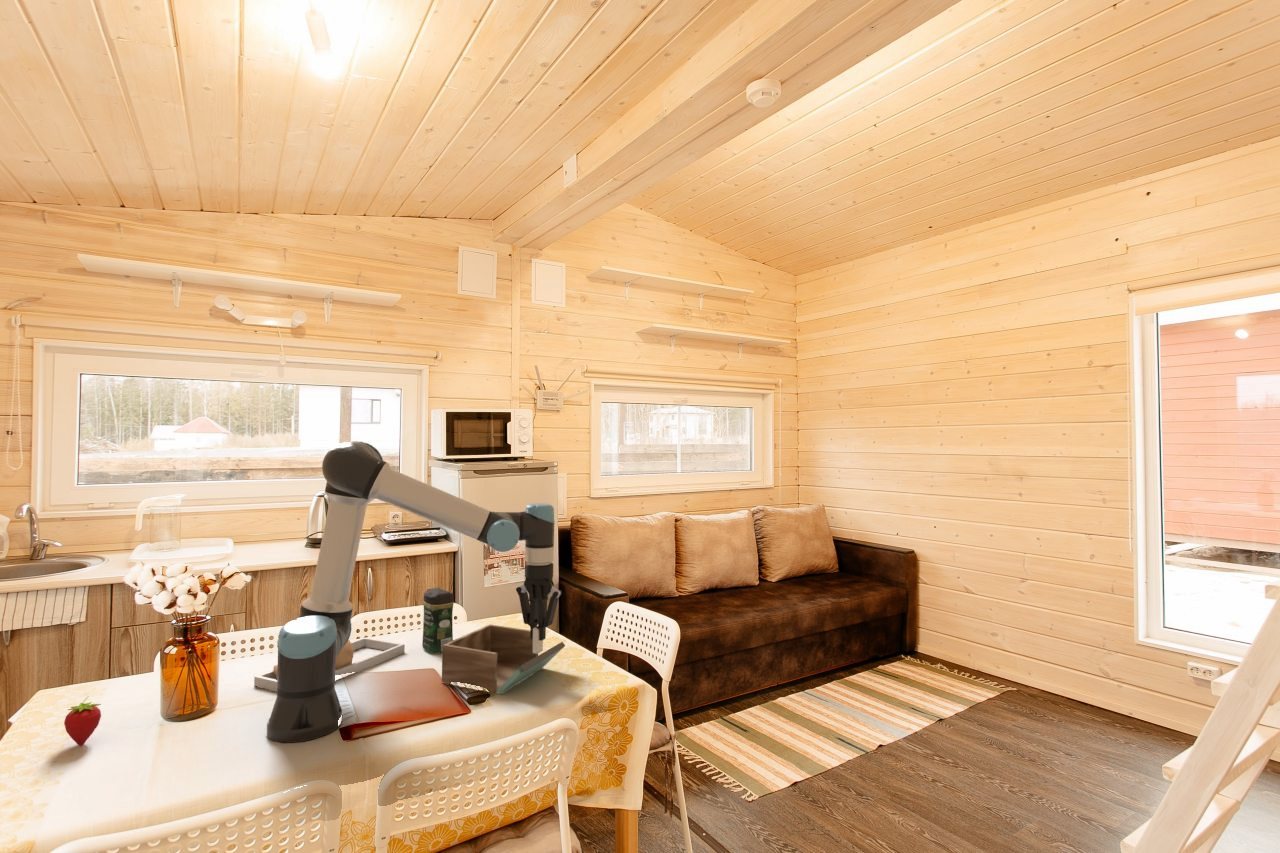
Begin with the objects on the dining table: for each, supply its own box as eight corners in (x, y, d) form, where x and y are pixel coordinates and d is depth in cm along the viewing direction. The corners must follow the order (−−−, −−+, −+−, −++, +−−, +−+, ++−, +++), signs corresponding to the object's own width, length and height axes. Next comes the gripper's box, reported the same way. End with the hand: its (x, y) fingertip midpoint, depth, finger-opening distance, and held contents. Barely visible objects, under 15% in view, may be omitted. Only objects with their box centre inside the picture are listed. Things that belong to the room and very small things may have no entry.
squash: (361, 673, 180) (359, 643, 178) (280, 699, 167) (277, 667, 166) (349, 656, 188) (347, 627, 186) (272, 679, 176) (269, 649, 174)
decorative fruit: (100, 734, 141) (101, 687, 141) (100, 747, 135) (102, 698, 135) (63, 741, 137) (65, 694, 137) (62, 755, 131) (64, 706, 131)
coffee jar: (418, 648, 201) (419, 588, 201) (442, 643, 206) (443, 584, 206) (431, 656, 194) (433, 594, 194) (456, 650, 199) (457, 590, 199)
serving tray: (298, 696, 162) (298, 686, 162) (254, 686, 168) (254, 676, 169) (404, 652, 197) (404, 644, 197) (364, 645, 203) (364, 637, 203)
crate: (494, 697, 164) (495, 654, 164) (441, 687, 170) (442, 645, 170) (537, 670, 183) (538, 631, 183) (489, 662, 190) (490, 624, 190)
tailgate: (499, 695, 163) (524, 670, 161) (496, 690, 164) (520, 665, 161) (542, 668, 183) (565, 645, 180) (539, 664, 183) (562, 641, 180)
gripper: (567, 562, 173) (566, 651, 172) (525, 558, 178) (524, 644, 177) (553, 567, 166) (551, 659, 165) (510, 562, 171) (508, 652, 170)
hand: (537, 651), depth 171 cm, fingers closed
